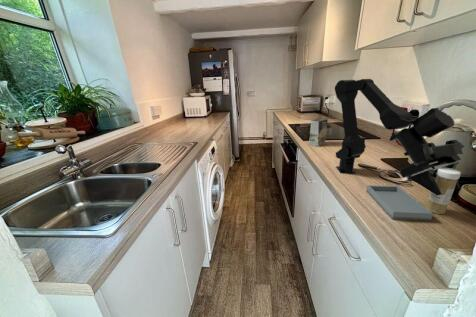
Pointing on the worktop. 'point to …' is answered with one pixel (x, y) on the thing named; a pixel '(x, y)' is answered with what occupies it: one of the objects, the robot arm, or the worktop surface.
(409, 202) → the tray
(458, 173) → the sprinkles bottle
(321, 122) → the coffee box
